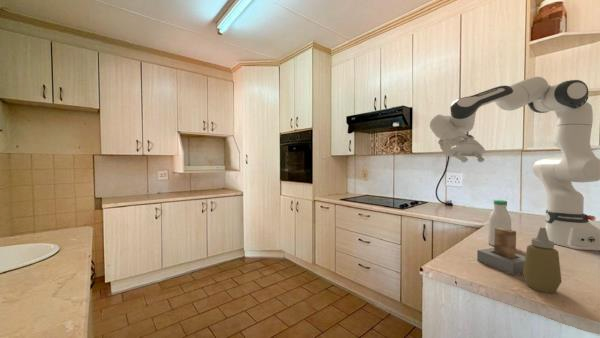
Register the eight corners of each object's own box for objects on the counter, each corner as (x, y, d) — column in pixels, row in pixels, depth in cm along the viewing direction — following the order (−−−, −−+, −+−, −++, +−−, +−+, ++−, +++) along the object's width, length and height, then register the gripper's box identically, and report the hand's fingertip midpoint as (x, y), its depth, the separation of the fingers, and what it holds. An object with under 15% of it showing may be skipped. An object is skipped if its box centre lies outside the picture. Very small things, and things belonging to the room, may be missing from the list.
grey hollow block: (477, 260, 91) (477, 250, 90) (496, 257, 93) (497, 247, 93) (513, 275, 79) (513, 263, 79) (534, 271, 82) (534, 259, 82)
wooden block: (494, 260, 88) (494, 228, 88) (500, 259, 89) (500, 227, 89) (509, 266, 83) (510, 232, 83) (515, 265, 84) (516, 231, 84)
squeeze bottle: (566, 299, 65) (568, 233, 65) (526, 290, 70) (528, 229, 69) (555, 286, 72) (557, 226, 71) (519, 279, 76) (520, 223, 76)
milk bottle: (511, 249, 101) (512, 202, 101) (488, 245, 106) (489, 200, 105) (510, 244, 108) (511, 200, 107) (488, 241, 112) (489, 198, 111)
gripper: (440, 134, 107) (460, 155, 98) (475, 135, 113) (497, 156, 104) (432, 145, 112) (450, 166, 103) (466, 145, 117) (486, 166, 108)
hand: (474, 161), depth 103 cm, fingers open, 8 cm apart
